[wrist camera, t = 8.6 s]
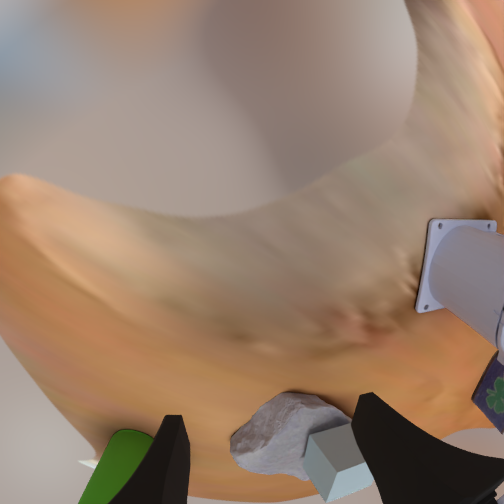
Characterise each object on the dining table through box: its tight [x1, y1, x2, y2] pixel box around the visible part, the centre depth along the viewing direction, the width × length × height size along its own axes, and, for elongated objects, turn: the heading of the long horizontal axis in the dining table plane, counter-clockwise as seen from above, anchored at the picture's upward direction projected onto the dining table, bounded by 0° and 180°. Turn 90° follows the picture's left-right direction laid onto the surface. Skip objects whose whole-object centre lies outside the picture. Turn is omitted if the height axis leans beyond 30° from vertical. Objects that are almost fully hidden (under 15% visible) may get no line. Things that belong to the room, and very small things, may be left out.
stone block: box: [230, 393, 352, 481], centre depth 24 cm, size 12×5×10 cm
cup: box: [78, 430, 154, 504], centre depth 18 cm, size 9×9×11 cm
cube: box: [303, 423, 374, 503], centre depth 19 cm, size 4×4×5 cm
